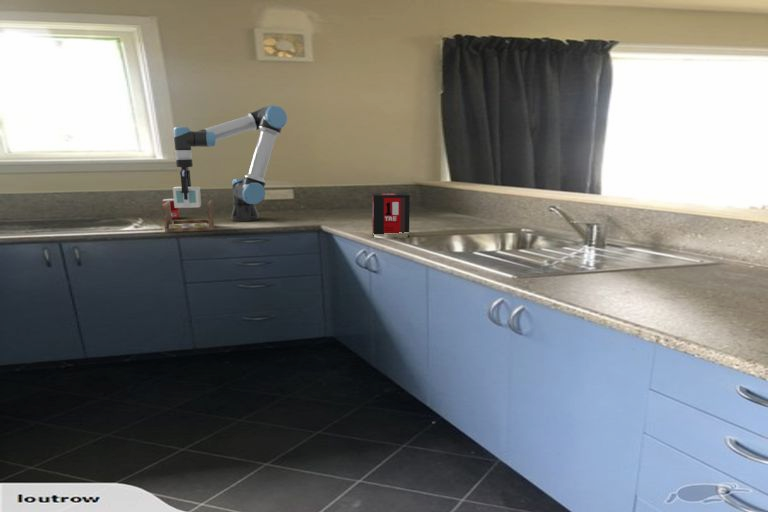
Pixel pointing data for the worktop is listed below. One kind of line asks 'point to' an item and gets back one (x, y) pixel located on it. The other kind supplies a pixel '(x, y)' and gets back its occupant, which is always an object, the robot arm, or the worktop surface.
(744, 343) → the worktop surface
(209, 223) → the facing shelf
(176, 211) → the canned food
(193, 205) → the product carton
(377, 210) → the cleaning product box
